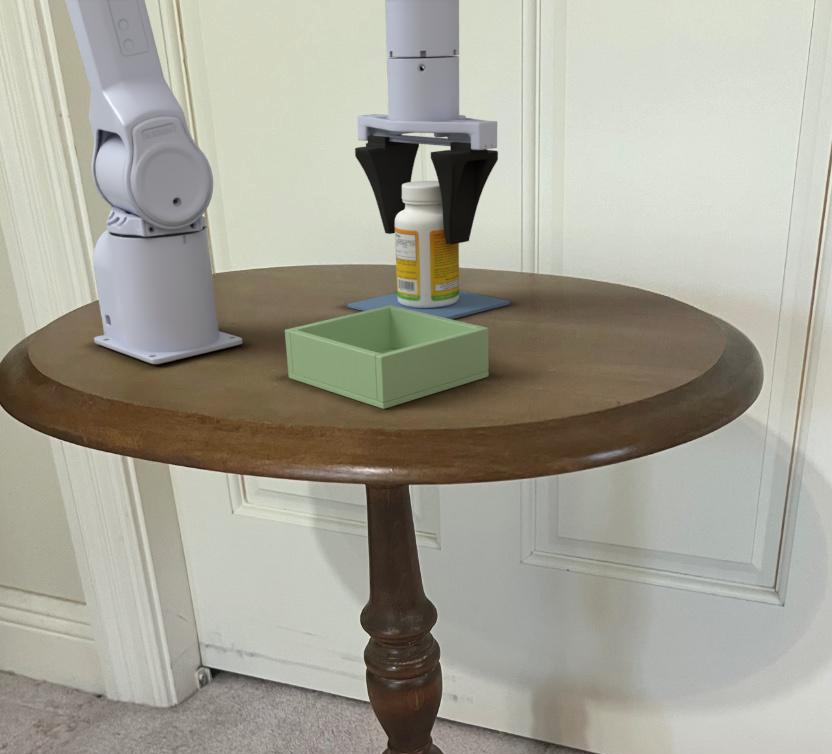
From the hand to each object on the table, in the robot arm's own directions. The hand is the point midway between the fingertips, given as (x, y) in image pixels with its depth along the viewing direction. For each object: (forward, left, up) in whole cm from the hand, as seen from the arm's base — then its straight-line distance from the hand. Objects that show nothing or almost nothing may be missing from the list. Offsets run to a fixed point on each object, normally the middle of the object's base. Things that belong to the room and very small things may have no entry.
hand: (426, 237), depth 91 cm
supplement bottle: (0, 0, -6) cm, 6 cm away
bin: (+14, -16, -6) cm, 22 cm away
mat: (0, 0, -6) cm, 6 cm away
